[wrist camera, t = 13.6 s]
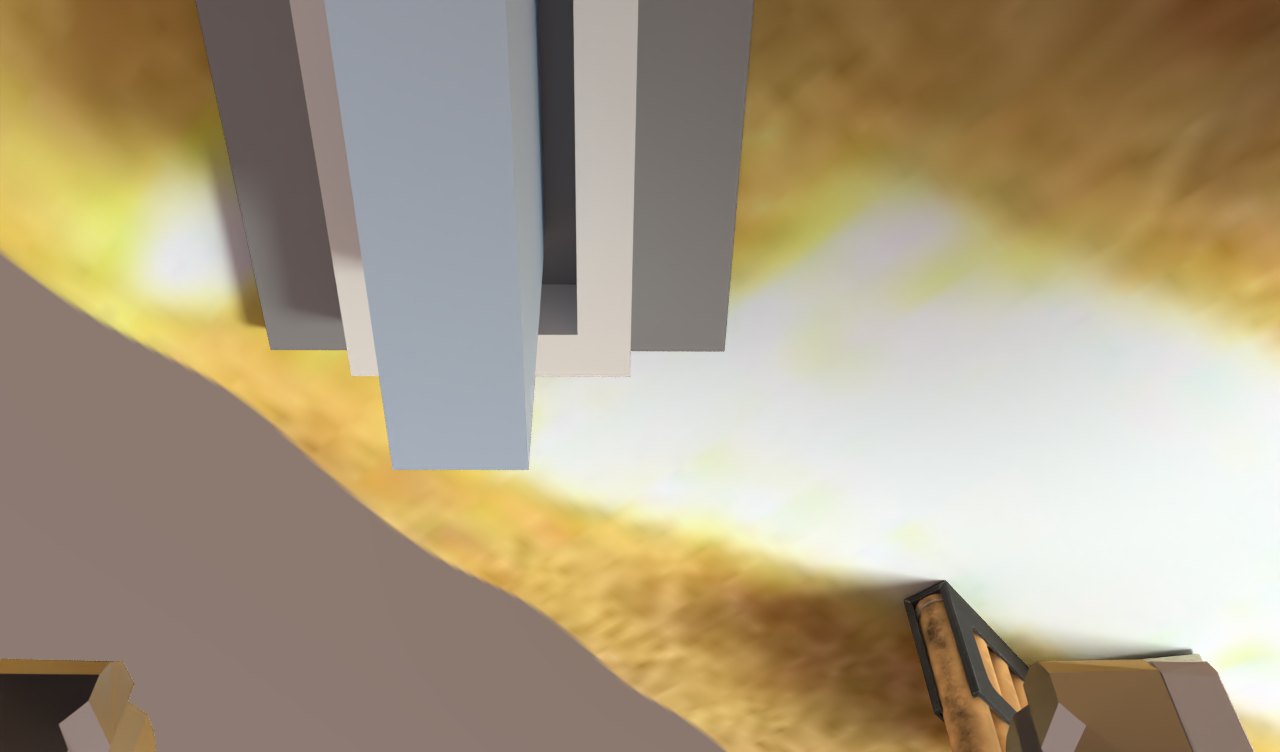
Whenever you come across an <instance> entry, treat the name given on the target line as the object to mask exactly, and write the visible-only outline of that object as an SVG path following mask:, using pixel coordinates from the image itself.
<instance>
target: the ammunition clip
mask: <svg viewBox="0 0 1280 752" xmlns="http://www.w3.org/2000/svg"><path fill="white" fill-rule="evenodd" d="M904 604H905V608H906V611H907V615H908V619H909V622H910V626H911V630H912V633H913V637H914V641H915V644H916V648H917V651H918V655H919V659H920V662H921V666H922V670H923V673H924V677H925V681H926V684H927V688H928V692H929V695H930V699H931V703H932V706H933V710H934V713H935V714H936V715H937V716H938V717H939V718H940V719H941V720H942V721H943V722H944V723H945V725H946V729H947V733H948V736H949V740H950V744H951V748H952V751H953V752H1006V736H1007V733H1008V729H1009V726H1010V722H1011V719H1012V715H1014V714H1015V713H1017V712H1018V711H1019V710H1021V709H1022V708H1024V707H1025V706H1027V705H1028V702H1027V698H1026V695H1025V691H1024V688H1023V683H1024V681H1025V678H1026V675H1027V672H1028V670H1029V668H1028V667H1027V666H1026V664H1025V663H1024V662H1023V661H1022V660H1021V659H1020V658H1019V657H1018V656H1017V655H1016V654H1015V653H1014V652H1013V651H1012V650H1011V649H1010V648H1009V647H1008V646H1007V644H1006V643H1005V642H1004V641H1003V640H1002V639H1001V638H1000V637H999V636H998V635H997V634H996V633H995V632H994V631H993V630H992V629H991V628H990V627H989V626H988V624H987V623H986V622H985V621H984V620H983V619H982V618H981V617H980V616H979V615H978V614H977V613H976V612H975V611H974V610H973V609H972V608H971V607H970V606H969V605H968V603H967V602H966V601H965V600H964V599H963V598H962V597H961V596H960V595H959V594H958V593H957V592H956V591H955V590H954V589H953V588H952V587H951V586H950V585H949V583H948V582H947V581H944V582H941V583H939V584H937V585H935V586H933V587H931V588H929V589H927V590H925V591H923V592H921V593H919V594H917V595H915V596H913V597H911V598H909V599H906V600H905V601H904Z"/></svg>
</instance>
